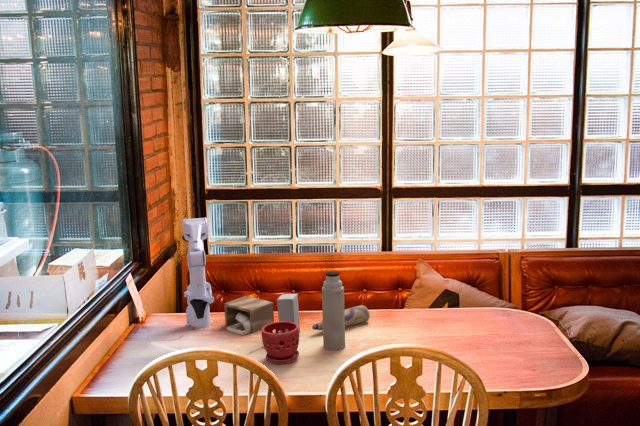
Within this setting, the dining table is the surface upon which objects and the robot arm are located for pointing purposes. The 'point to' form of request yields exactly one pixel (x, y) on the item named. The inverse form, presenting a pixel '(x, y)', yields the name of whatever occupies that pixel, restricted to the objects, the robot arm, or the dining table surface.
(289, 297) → the skincare box
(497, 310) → the dining table surface
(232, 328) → the tray
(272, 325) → the plant pot
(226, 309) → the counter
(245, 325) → the pale pink rounded cylinder
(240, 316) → the white rounded piece
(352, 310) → the decorative bottle
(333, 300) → the thermos bottle
